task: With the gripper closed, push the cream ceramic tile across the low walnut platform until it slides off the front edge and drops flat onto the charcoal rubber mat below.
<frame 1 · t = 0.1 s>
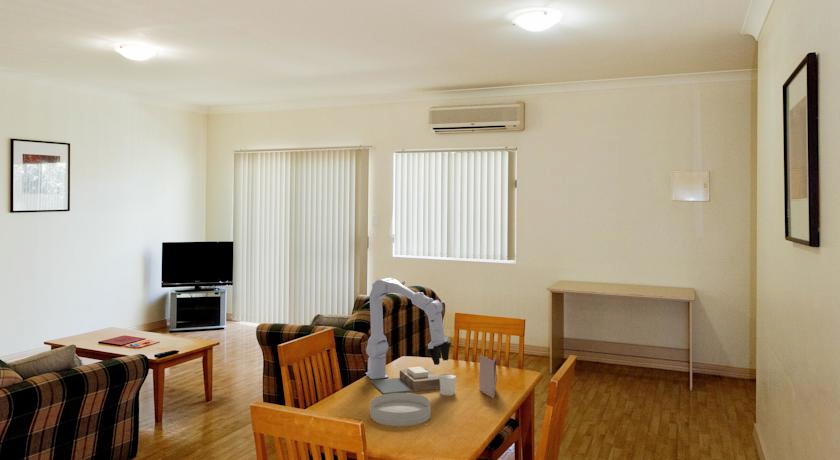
hand: (441, 362, 254), 11 cm above the table, tool pointing down, fingers open, 7 cm apart
mat: (391, 386, 255), on the table
white cup: (447, 393, 247), on the table
dish: (400, 416, 222), on the table
greeting card: (487, 394, 246), on the table
platform: (419, 383, 260), on the table
tile: (417, 372, 259), point 5 cm above the table, touching platform
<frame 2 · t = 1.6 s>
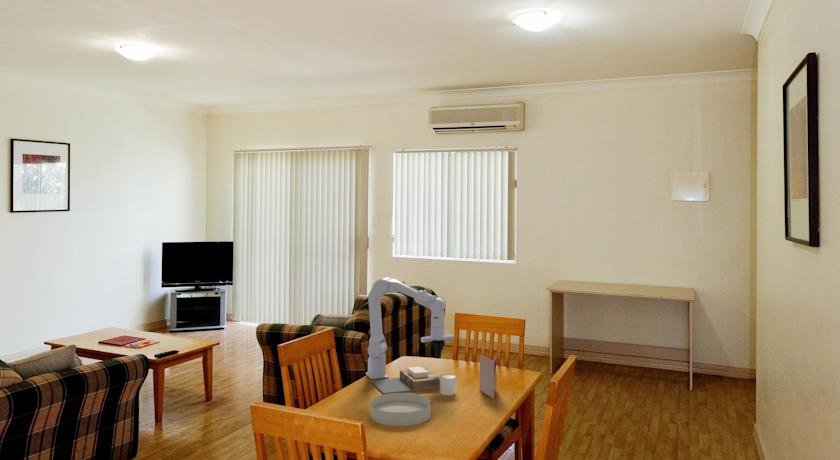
hand: (437, 357, 262), 10 cm above the table, tool pointing down, fingers closed
nothing on the table moved.
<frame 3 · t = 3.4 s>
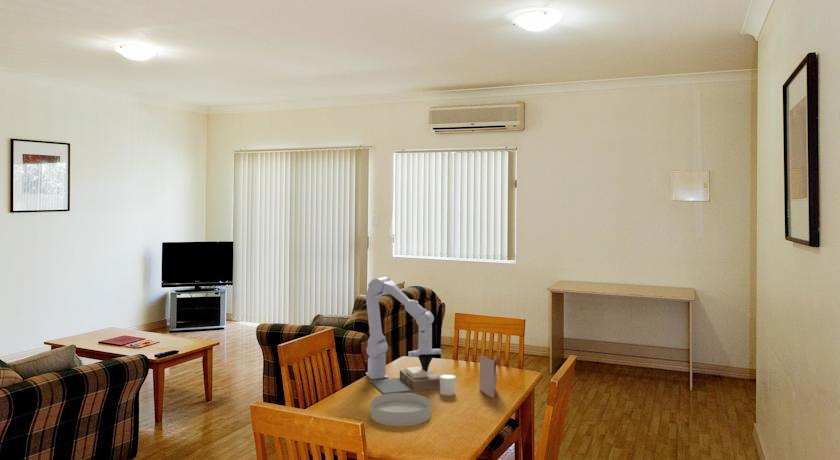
hand: (424, 371, 260), 5 cm above the table, tool pointing down, fingers closed
tile: (416, 372, 259), point 5 cm above the table, touching gripper
everything else where it was.
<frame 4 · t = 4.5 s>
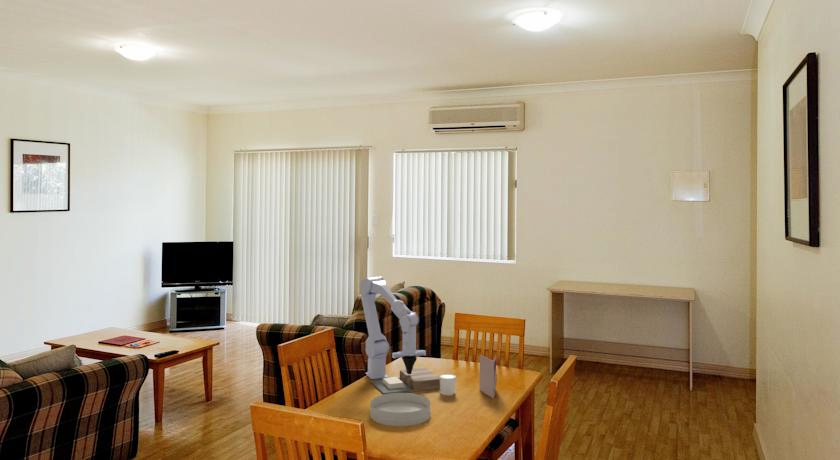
hand: (409, 373, 258), 5 cm above the table, tool pointing down, fingers closed
tile: (392, 382, 255), point 2 cm above the table, tilted 180°, touching mat
everything else where it was.
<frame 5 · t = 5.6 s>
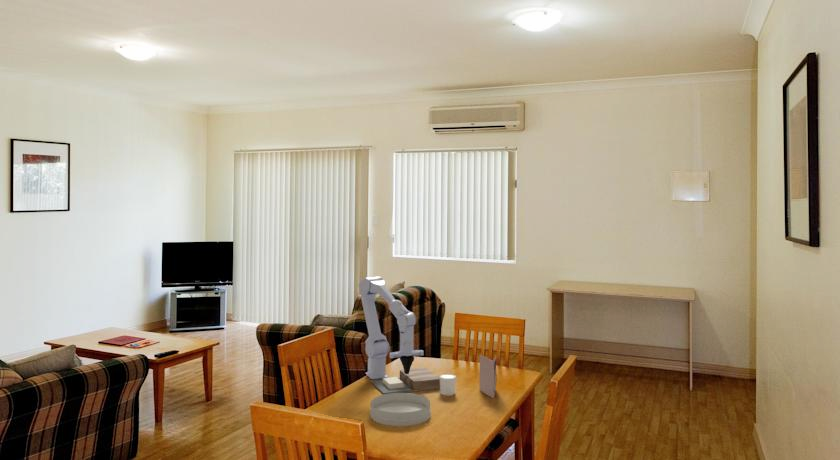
hand: (406, 373, 257), 5 cm above the table, tool pointing down, fingers closed
nothing on the table moved.
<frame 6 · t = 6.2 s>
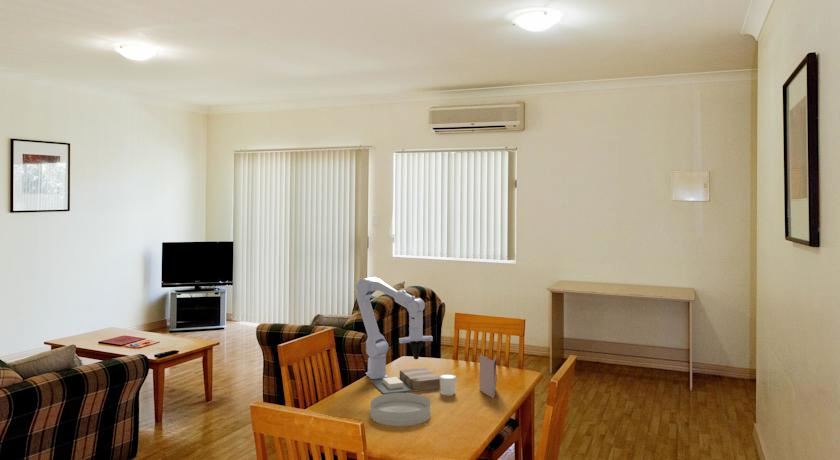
hand: (415, 358, 260), 10 cm above the table, tool pointing down, fingers closed
nothing on the table moved.
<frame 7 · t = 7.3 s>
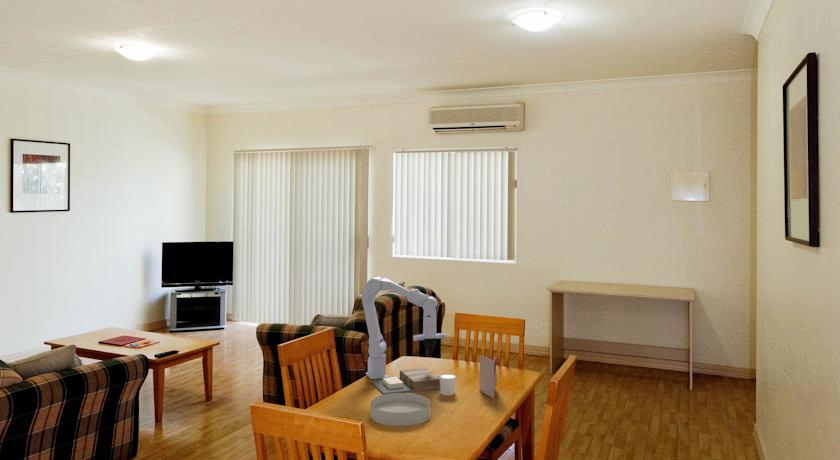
hand: (429, 355, 265), 10 cm above the table, tool pointing down, fingers closed
nothing on the table moved.
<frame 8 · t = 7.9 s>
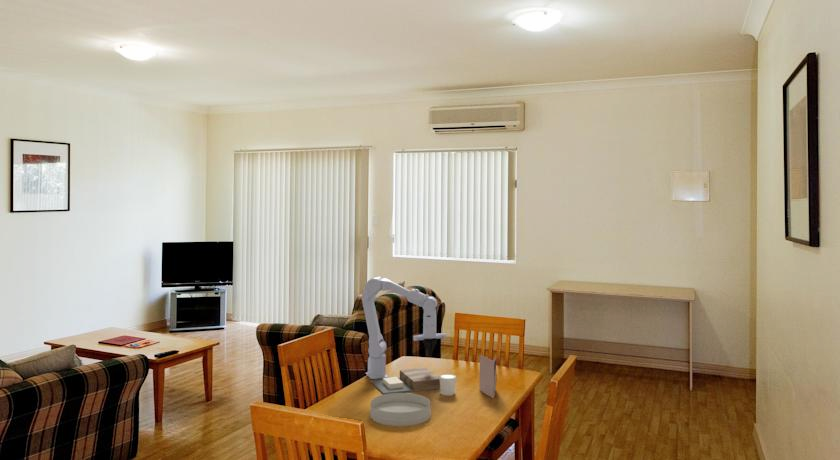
hand: (429, 355, 265), 10 cm above the table, tool pointing down, fingers closed
nothing on the table moved.
at the end: tile inside the target area on the mat (0.3 cm from its centre), point 1.6 cm above the mat's base; tile point 1.6 cm above the table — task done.
